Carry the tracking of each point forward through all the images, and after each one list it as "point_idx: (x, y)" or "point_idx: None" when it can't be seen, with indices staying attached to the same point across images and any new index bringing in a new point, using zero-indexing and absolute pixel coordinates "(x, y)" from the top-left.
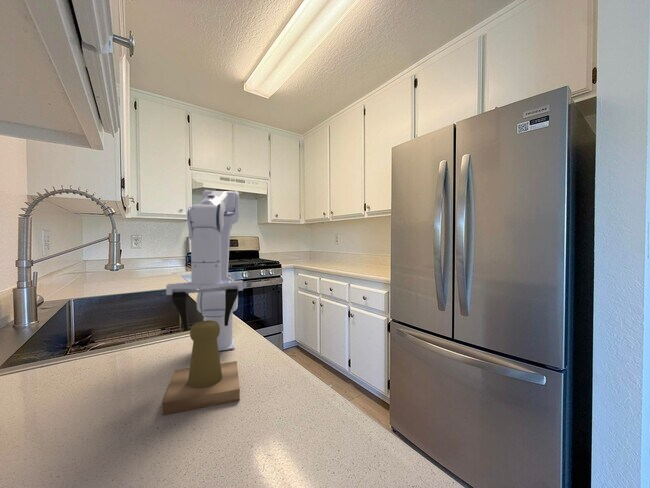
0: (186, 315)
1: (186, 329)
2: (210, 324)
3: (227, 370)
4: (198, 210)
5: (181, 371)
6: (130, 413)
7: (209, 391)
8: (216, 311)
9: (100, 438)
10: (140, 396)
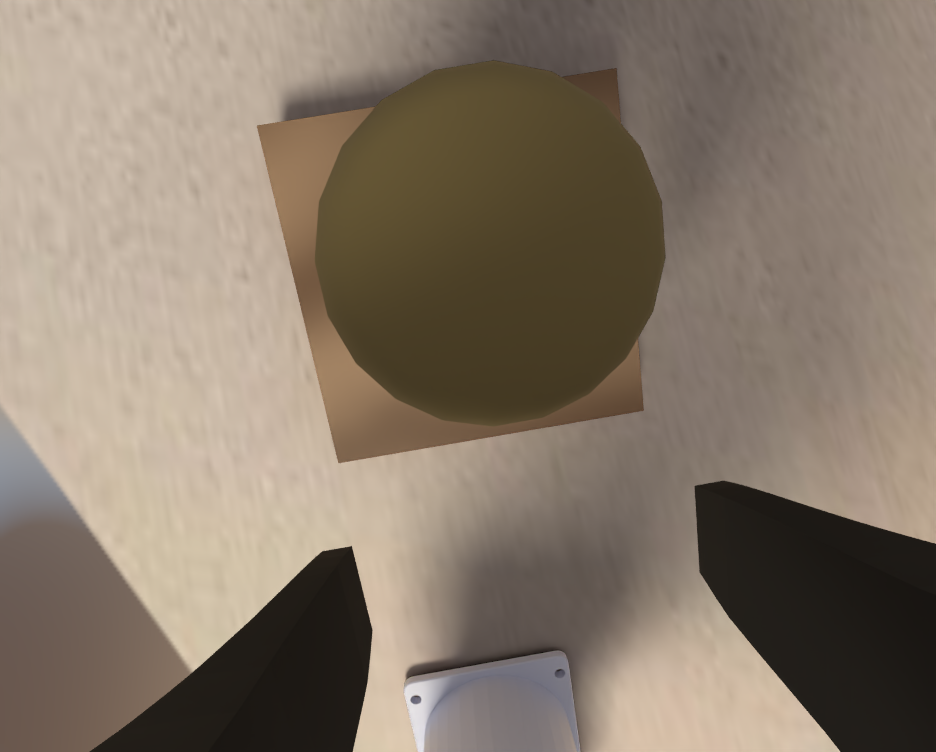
0: (822, 568)
1: (706, 486)
2: (401, 157)
3: None
4: None
5: (606, 386)
6: (729, 138)
7: None
8: None
9: None
10: (730, 274)
